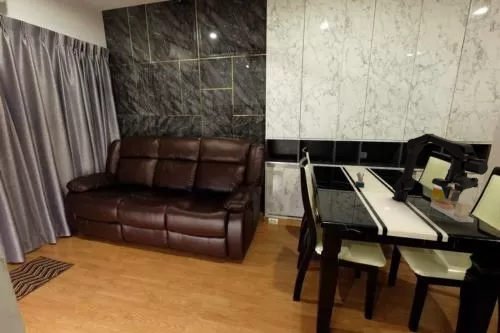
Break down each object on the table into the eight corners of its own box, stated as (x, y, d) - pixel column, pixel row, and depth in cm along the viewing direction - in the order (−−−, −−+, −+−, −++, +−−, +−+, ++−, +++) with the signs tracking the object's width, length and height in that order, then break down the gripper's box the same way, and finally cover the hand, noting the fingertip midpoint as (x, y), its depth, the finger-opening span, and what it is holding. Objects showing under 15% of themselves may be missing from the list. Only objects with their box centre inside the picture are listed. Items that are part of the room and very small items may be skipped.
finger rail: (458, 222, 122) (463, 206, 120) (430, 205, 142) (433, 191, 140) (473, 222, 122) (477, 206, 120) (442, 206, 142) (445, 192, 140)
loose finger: (449, 204, 118) (453, 191, 117) (442, 201, 123) (445, 188, 121) (458, 204, 118) (461, 191, 117) (450, 201, 123) (453, 188, 121)
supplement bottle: (438, 203, 146) (443, 183, 143) (427, 199, 153) (431, 180, 149) (447, 202, 148) (452, 183, 145) (436, 198, 154) (440, 179, 151)
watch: (362, 185, 178) (364, 171, 176) (364, 188, 171) (366, 174, 168) (354, 184, 180) (356, 170, 177) (355, 187, 172) (357, 173, 170)
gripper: (451, 173, 109) (444, 204, 113) (493, 174, 109) (484, 205, 112) (434, 167, 120) (428, 195, 124) (471, 168, 119) (464, 196, 123)
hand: (450, 198), depth 120 cm, fingers closed on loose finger, 4 cm apart
